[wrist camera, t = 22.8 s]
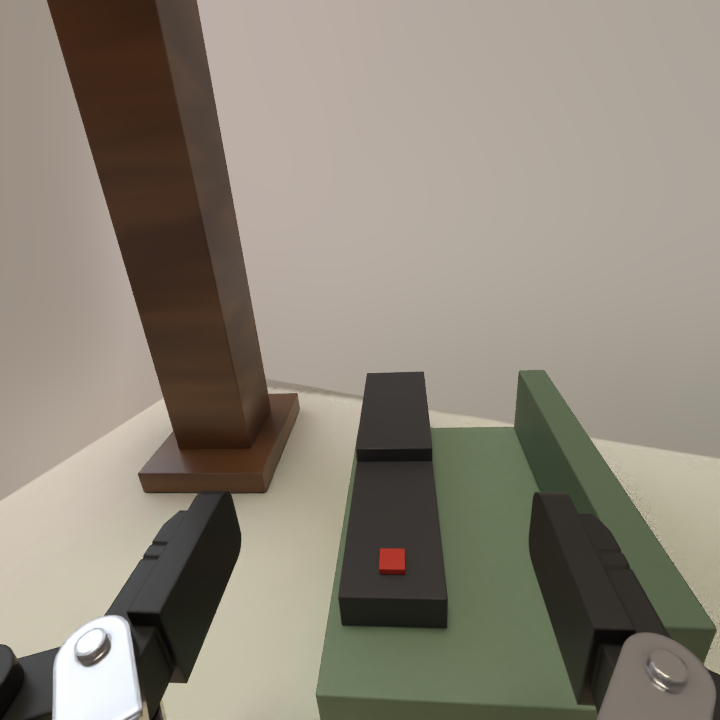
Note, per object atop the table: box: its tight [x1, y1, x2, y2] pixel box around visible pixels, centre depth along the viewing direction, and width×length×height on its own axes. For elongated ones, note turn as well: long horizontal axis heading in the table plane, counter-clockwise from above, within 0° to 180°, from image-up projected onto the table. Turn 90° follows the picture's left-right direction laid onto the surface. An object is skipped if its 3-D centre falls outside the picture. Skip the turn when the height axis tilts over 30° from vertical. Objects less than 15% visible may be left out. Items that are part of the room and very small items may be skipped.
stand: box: [47, 0, 300, 492], centre depth 25 cm, size 10×8×32 cm
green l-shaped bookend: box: [316, 370, 717, 720], centre depth 21 cm, size 16×12×6 cm
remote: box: [338, 372, 448, 628], centre depth 24 cm, size 17×4×2 cm, turn 175°
